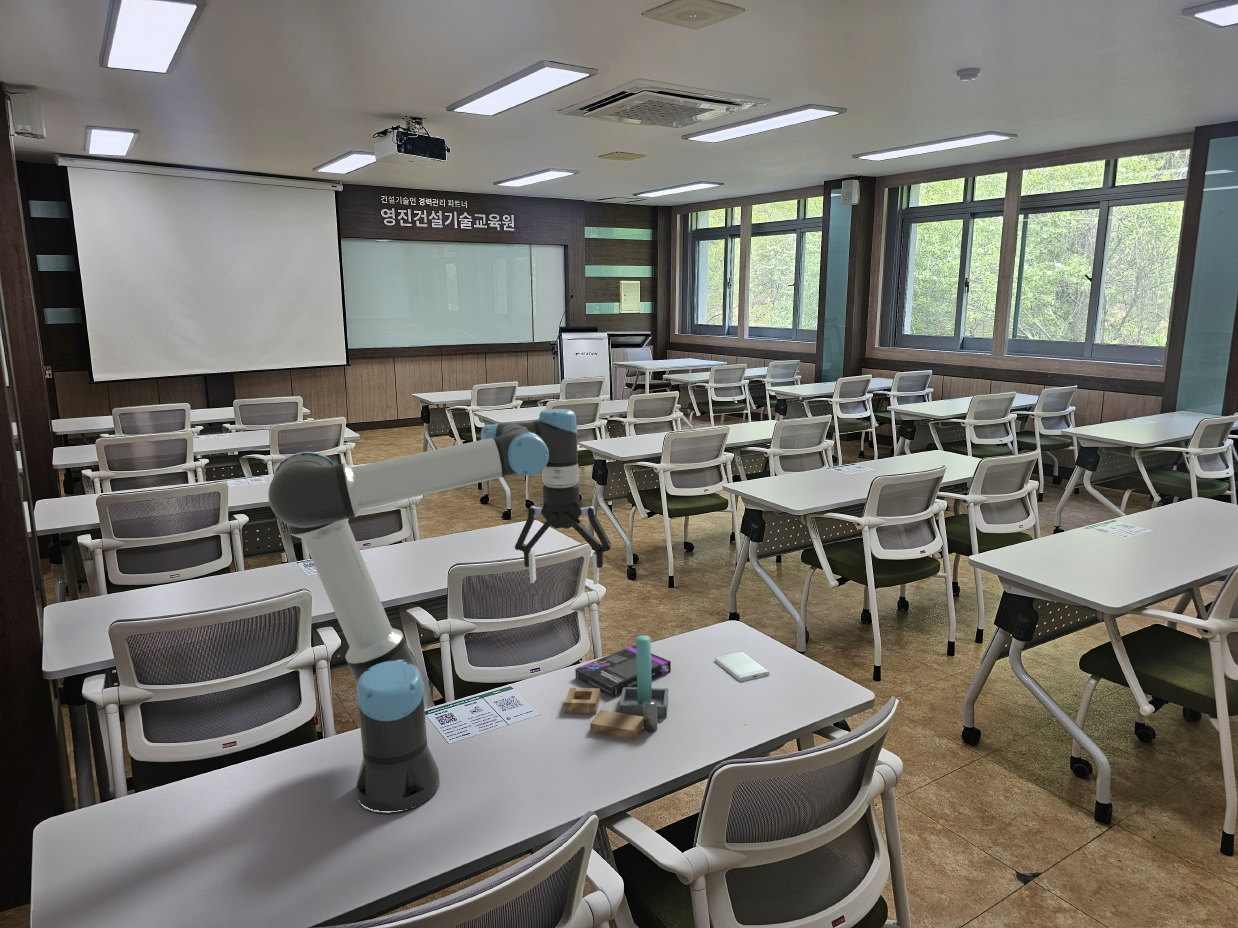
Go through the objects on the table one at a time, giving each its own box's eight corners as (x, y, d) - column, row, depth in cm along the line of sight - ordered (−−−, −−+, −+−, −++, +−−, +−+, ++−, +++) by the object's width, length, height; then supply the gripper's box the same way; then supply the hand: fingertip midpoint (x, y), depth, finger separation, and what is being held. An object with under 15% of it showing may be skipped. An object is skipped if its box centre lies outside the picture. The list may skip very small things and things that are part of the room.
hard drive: (714, 657, 199) (740, 677, 188) (742, 651, 202) (769, 670, 191) (714, 663, 199) (740, 683, 188) (742, 657, 202) (769, 676, 191)
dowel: (638, 701, 178) (636, 635, 175) (652, 701, 178) (651, 635, 175) (637, 708, 175) (635, 641, 172) (651, 708, 175) (650, 641, 172)
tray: (619, 715, 173) (619, 705, 173) (623, 697, 182) (623, 687, 181) (666, 717, 172) (666, 706, 172) (668, 698, 180) (668, 688, 180)
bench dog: (642, 731, 167) (642, 705, 165) (644, 724, 170) (643, 698, 168) (657, 732, 166) (656, 706, 165) (657, 724, 169) (657, 699, 168)
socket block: (565, 712, 175) (564, 702, 175) (570, 697, 182) (570, 687, 182) (596, 713, 175) (595, 703, 174) (600, 698, 181) (599, 688, 181)
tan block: (590, 733, 167) (590, 723, 167) (600, 720, 173) (600, 709, 172) (635, 741, 164) (634, 730, 163) (644, 727, 169) (643, 716, 169)
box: (634, 657, 205) (574, 679, 192) (633, 644, 204) (574, 666, 191) (671, 674, 194) (611, 699, 182) (671, 660, 194) (611, 685, 181)
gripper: (497, 488, 160) (502, 586, 164) (618, 488, 158) (620, 588, 162) (506, 480, 168) (511, 574, 172) (622, 480, 165) (624, 576, 169)
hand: (564, 581), depth 167 cm, fingers open, 13 cm apart
